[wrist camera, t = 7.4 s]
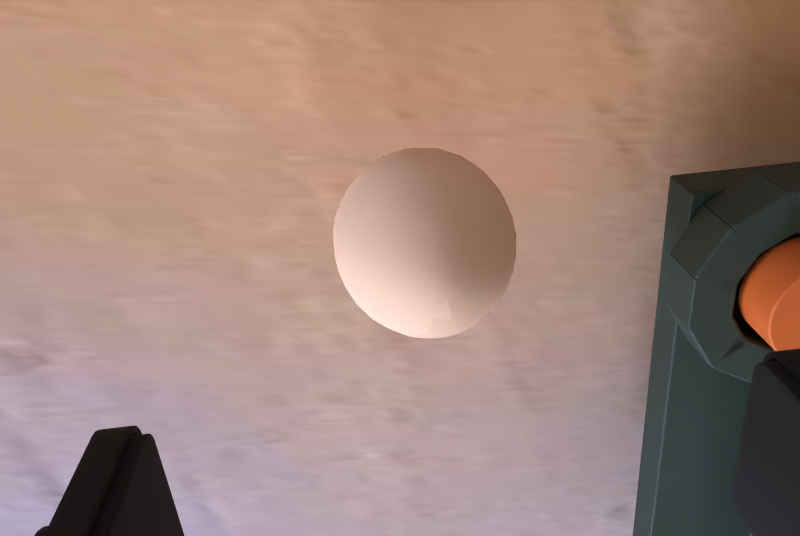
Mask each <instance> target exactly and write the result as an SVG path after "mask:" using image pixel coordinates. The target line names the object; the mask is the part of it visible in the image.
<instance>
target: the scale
mask: <svg viewBox="0 0 800 536" xmlns="http://www.w3.org/2000/svg"><path fill="white" fill-rule="evenodd" d="M796 237H800V162H795V163H786V164H776V165H767V166H757V167H748V168H739V169H729V170H720V171H710V172H701V173H691V174H682V175H673V176H671V177H670V185H669V195H668V205H667V214H666V224H665V233H664V243H663V252H662V262H661V272H660V281H659V291H658V300H657V310H656V319H655V329H654V339H653V348H652V358H651V367H650V377H649V386H648V396H647V406H646V415H645V425H644V434H643V444H642V454H641V463H640V473H639V482H638V492H637V501H636V511H635V521H634V530H633V536H750V531H749V530H748V528H747V527H746V525H745V524H744V522H743V521H742V519H741V518H740V516H739V515H738V513H737V511H736V509H735V506H734V503H733V498H732V488H733V482H734V476H735V471H736V465H737V459H738V454H739V448H740V442H741V437H742V431H743V426H744V420H745V414H746V409H747V403H748V397H749V392H750V386H751V381H752V375H753V370H754V367H755V366H756V364H757V363H760V362H763V359H764V357H765V355H766V354H767V353H769V352H773V351H775V350H774V349H773V348H772V347H771V346H770V345H769V344H768V343H767V342H766V341H765V340H764V339H763V338H762V337H761V336H760V335H759V334H758V333H757V332H756V331H755V330H754V329H753V328H752V327H751V326H750V325H749V324H748V323H747V322H746V321H745V319H744V318H743V316H742V314H741V311H740V307H739V299H738V298H739V290H740V286H741V283H742V281H743V278H744V277H745V275H746V273H747V271H748V270H749V268H750V267H751V266H752V265H753V263H754V262H755V261H756V260H757V259H758V258H759V257H760V256H761V255H762V254H764V253H765V252H766V251H768V250H769V249H771V248H772V247H774V246H776V245H777V244H779V243H781V242H784V241H786V240H789V239H793V238H796Z"/></svg>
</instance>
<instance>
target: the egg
mask: <svg viewBox="0 0 800 536" xmlns="http://www.w3.org/2000/svg"><path fill="white" fill-rule="evenodd" d="M333 241H334V251H335V259H336V263H337V268H338V271H339V273H340V276H341V278H342V280H343V283H344V285H345V287H346V289H347V290H348V292H349V293H350V295H351V296H352V298H353V299H354V301H355V302H356V303H357V305H358V306H359V307H360V308H361V309H362V310H363V311H364V312H366V313H367V314H368V315H369V316H370V317H371V318H372V319H374V320H375V321H377V322H378V323H380V324H381V325H383V326H385V327H387V328H389V329H391V330H394V331H396V332H399V333H402V334H405V335H407V336H410V337H418V338H442V337H449V336H452V335H455V334H458V333H460V332H463V331H466V330H468V329H470V328H472V327H473V326H474V325H476V324H477V323H478V322H480V321H481V320H482V319H484V318H485V317H486V316H487V315H488V314H489V313H490V312H491V311H492V310H493V309H494V308H495V307H496V305H497V304H498V302H499V301H500V299H501V297H502V296H503V294H504V293H505V291H506V289H507V286H508V283H509V281H510V278H511V275H512V273H513V268H514V263H515V258H516V232H515V227H514V222H513V218H512V216H511V213H510V211H509V208H508V206H507V204H506V201H505V199H504V197H503V195H502V194H501V192H500V190H499V189H498V187H497V186H496V185H495V184H494V183H493V182H492V180H491V179H490V178H489V177H488V176H487V175H486V173H485V172H484V171H483V170H481V169H480V168H479V167H477V166H476V165H474V164H473V163H471V162H470V161H468V160H466V159H465V158H463V157H462V156H460V155H457V154H453V153H450V152H447V151H444V150H441V149H436V148H410V149H403V150H400V151H397V152H394V153H391V154H389V155H386V156H383V157H381V158H380V159H378V160H377V161H375V162H374V163H372V164H371V165H369V166H368V167H366V168H365V169H364V170H363V171H362V172H361V173H360V174H359V175H358V176H357V177H356V179H355V180H354V181H353V182H352V183H351V184H350V185H349V187H348V188H347V190H346V192H345V194H344V196H343V198H342V201H341V203H340V205H339V207H338V209H337V213H336V217H335V220H334V231H333Z"/></svg>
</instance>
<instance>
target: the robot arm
mask: <svg viewBox="0 0 800 536" xmlns="http://www.w3.org/2000/svg"><path fill="white" fill-rule="evenodd" d="M732 498H733V503H734V506H735V509H736V511H737V513H738V515H739V516H740V518H741V519H742V521H743V522H744V524H745V525H746V527H747V528H748V530H749V531H750V533H751V534H752V536H800V348H799V349H791V350H782V351H773V352H769V353H767V354H766V355H765V357H764V359H763V362H760V363H757V364H756V366H755V367H754V370H753V375H752V381H751V386H750V392H749V397H748V403H747V409H746V414H745V420H744V426H743V431H742V437H741V442H740V448H739V454H738V459H737V465H736V471H735V476H734V482H733V488H732ZM35 536H184V533H183V530H182V527H181V524H180V520H179V517H178V514H177V511H176V507H175V504H174V501H173V498H172V495H171V491H170V488H169V485H168V482H167V479H166V475H165V472H164V469H163V466H162V463H161V459H160V456H159V453H158V450H157V447H156V443H155V440H154V438H153V436H152V435H151V434H142V433H141V431H140V429H139V428H138V427H137V426H127V427H119V428H110V429H102V430H98V431H96V432H95V433H94V434H93V436H92V437H91V439H90V442H89V444H88V446H87V448H86V450H85V452H84V454H83V456H82V458H81V460H80V462H79V464H78V466H77V469H76V471H75V473H74V475H73V477H72V479H71V481H70V483H69V485H68V487H67V489H66V491H65V493H64V495H63V498H62V500H61V502H60V504H59V506H58V508H57V510H56V512H55V514H54V516H53V518H52V520H51V522H50V525H49V526H45V527H43V528H41V529H40V530H39V531H37V533H36V534H35Z"/></svg>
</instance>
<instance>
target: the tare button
mask: <svg viewBox="0 0 800 536" xmlns="http://www.w3.org/2000/svg"><path fill="white" fill-rule="evenodd" d="M738 299H739V307H740V311H741V314H742V316H743V318H744V319H745V321H746V322H747V323H748V324H749V325H750V326H751V327H752V328H753V329H754V330H755V331H756V332H757V333H758V334H759V335H760V336H761V337H762V338H763V339H764V340H765V341H766V342H767V343H768V344H769V345H770V346H771V347H772V348H773V349H774V350H775V351H782V350H791V349H799V348H800V237H796V238H793V239H789V240H786V241H784V242H781V243H779V244H777V245H776V246H774V247H772V248H771V249H769V250H768V251H766V252H765V253H764V254H762V255H761V256H760V257H759V258H758V259H757V260H756V261H755V262H754V263H753V265H752V266H751V267H750V268H749V270H748V271H747V273H746V275H745V277H744V278H743V281H742V283H741V286H740V290H739V298H738Z"/></svg>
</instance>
